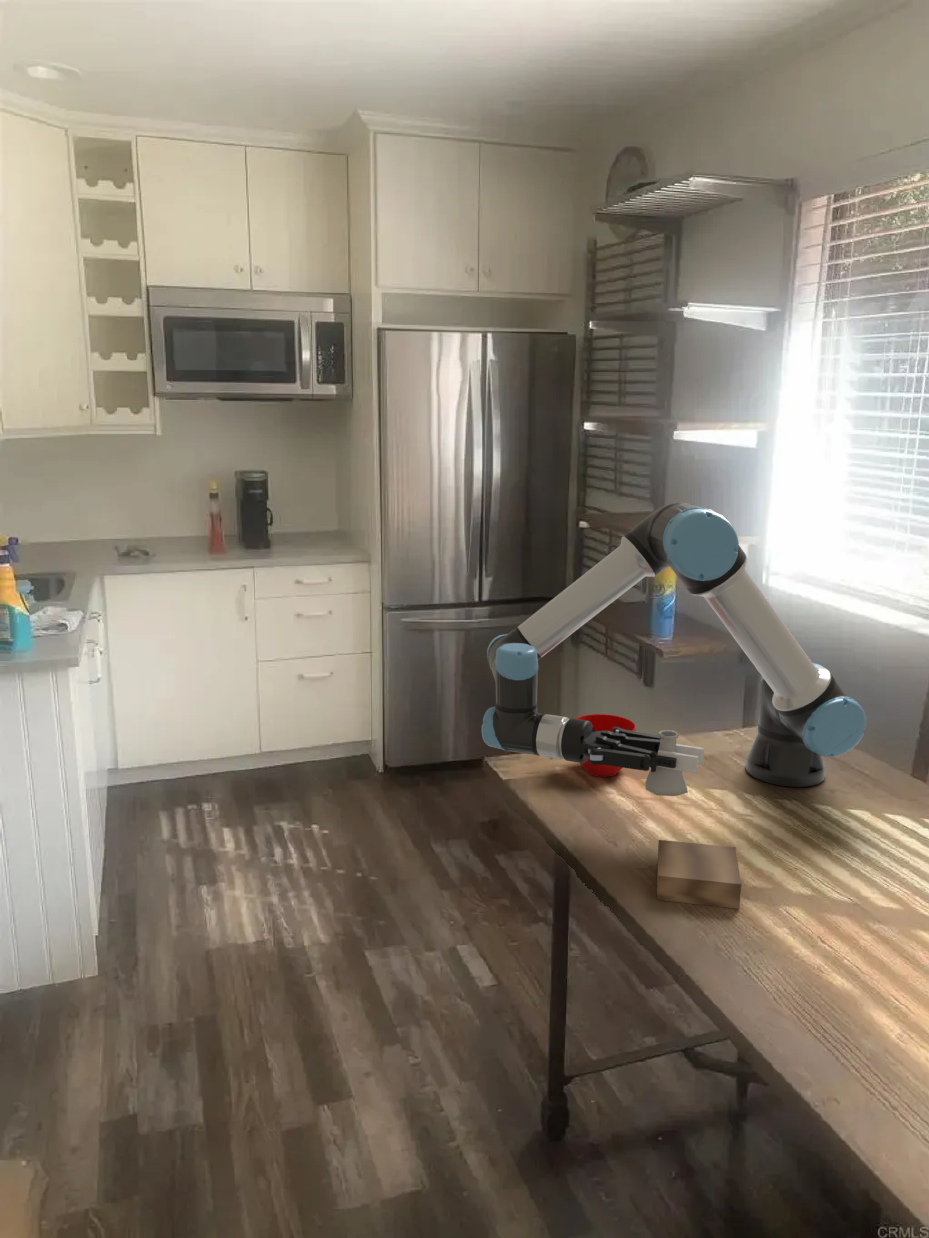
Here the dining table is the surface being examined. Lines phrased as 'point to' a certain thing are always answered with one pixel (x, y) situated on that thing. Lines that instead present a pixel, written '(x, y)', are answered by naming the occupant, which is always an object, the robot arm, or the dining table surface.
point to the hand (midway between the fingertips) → (700, 760)
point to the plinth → (698, 874)
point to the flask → (666, 771)
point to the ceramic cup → (605, 724)
